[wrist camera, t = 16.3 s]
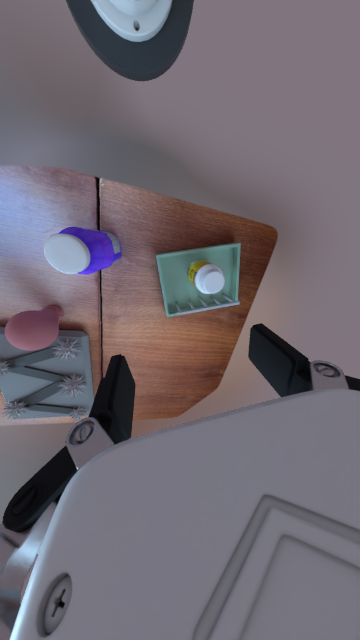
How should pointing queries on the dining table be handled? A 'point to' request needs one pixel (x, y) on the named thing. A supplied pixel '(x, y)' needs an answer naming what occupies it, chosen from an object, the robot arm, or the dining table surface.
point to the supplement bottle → (206, 276)
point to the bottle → (82, 250)
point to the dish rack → (180, 289)
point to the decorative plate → (47, 377)
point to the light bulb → (34, 328)
